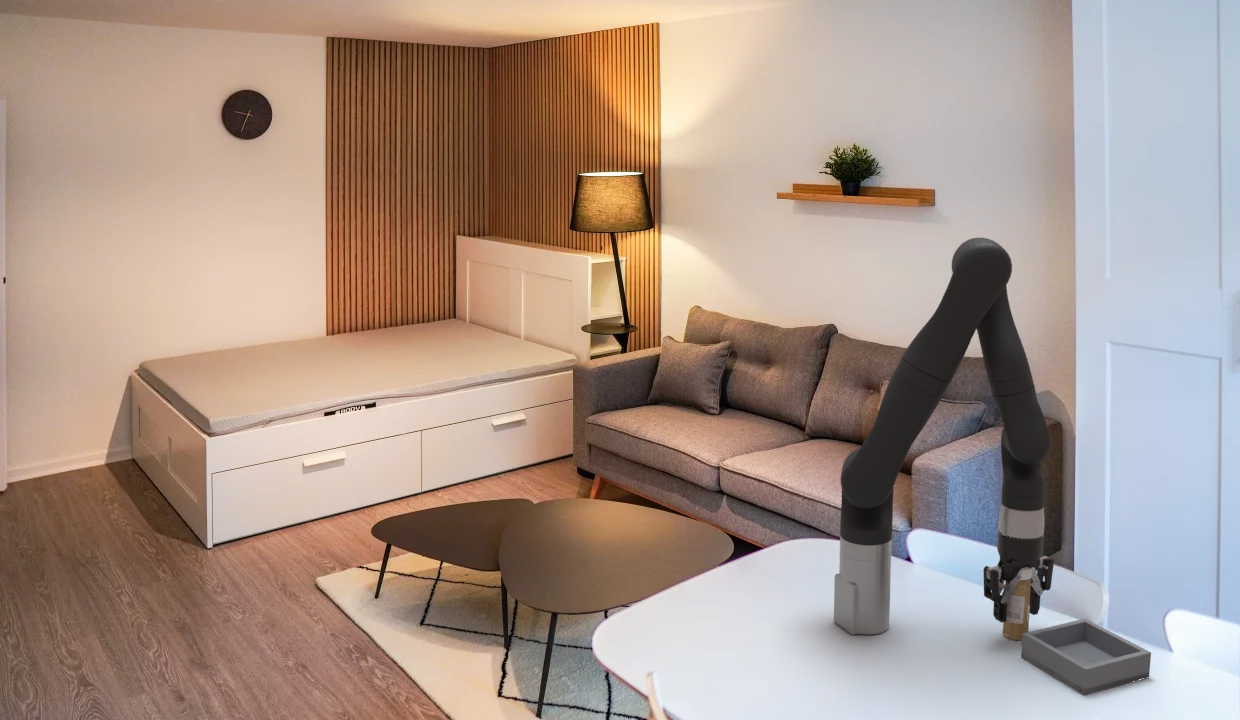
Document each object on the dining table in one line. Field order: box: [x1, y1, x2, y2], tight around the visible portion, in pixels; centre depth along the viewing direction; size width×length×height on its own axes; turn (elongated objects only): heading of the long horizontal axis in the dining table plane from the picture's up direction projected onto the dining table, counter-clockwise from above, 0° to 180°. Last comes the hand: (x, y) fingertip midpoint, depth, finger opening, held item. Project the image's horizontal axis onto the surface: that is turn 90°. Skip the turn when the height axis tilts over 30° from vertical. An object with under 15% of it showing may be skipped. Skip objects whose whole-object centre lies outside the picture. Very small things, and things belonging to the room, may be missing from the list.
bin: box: [1020, 618, 1152, 696], centre depth 177 cm, size 14×14×4 cm
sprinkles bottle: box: [1001, 567, 1032, 641], centre depth 188 cm, size 5×5×13 cm
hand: (1016, 616), depth 189 cm, fingers open, 6 cm apart
